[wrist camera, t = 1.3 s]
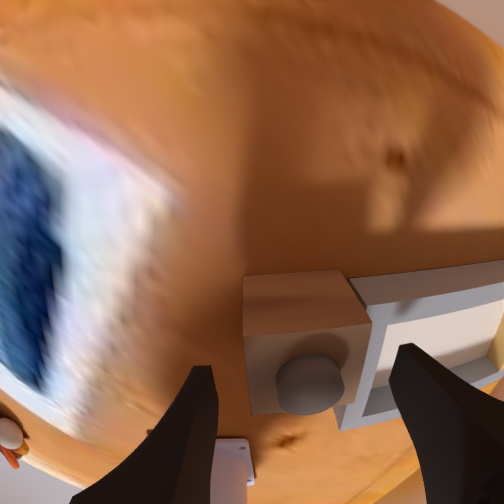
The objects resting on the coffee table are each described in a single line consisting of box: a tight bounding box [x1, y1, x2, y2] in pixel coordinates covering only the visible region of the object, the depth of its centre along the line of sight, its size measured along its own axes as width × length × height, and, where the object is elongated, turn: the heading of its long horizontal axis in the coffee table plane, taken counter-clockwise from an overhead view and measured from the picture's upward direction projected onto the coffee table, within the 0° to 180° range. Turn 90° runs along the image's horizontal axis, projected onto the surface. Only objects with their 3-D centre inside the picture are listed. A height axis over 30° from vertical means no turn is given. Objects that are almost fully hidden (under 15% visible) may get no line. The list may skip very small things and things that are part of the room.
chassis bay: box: [333, 260, 504, 431], centre depth 14 cm, size 9×14×2 cm, turn 94°
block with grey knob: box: [243, 269, 373, 415], centre depth 12 cm, size 4×4×6 cm
